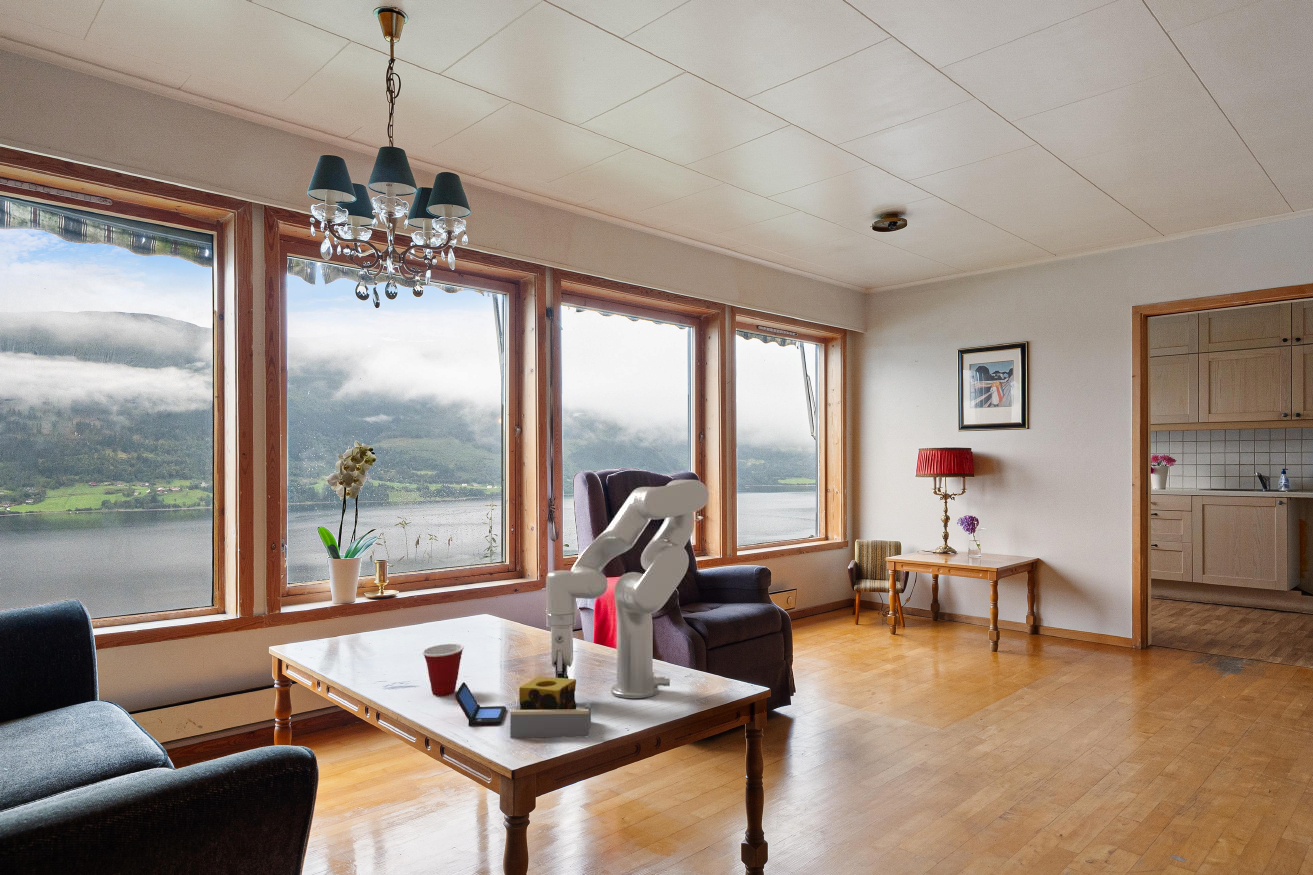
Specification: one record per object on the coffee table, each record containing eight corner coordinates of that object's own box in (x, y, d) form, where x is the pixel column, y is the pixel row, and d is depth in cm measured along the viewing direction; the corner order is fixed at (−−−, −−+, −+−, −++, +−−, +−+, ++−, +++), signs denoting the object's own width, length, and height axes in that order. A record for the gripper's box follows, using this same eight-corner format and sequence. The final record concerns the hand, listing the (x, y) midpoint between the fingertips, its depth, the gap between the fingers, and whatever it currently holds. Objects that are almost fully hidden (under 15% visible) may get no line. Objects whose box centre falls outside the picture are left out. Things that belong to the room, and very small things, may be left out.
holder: (590, 721, 180) (590, 697, 180) (588, 736, 170) (588, 710, 170) (517, 722, 179) (517, 698, 180) (510, 737, 169) (510, 711, 169)
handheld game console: (500, 726, 177) (501, 694, 178) (453, 728, 176) (453, 695, 177) (507, 710, 190) (507, 679, 190) (462, 711, 189) (463, 680, 189)
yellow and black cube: (577, 721, 180) (577, 678, 181) (559, 735, 171) (559, 690, 171) (538, 717, 183) (538, 675, 184) (518, 731, 174) (518, 686, 174)
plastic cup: (414, 692, 204) (415, 647, 205) (452, 685, 211) (453, 641, 212) (431, 701, 196) (432, 654, 196) (470, 694, 203) (471, 648, 203)
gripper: (573, 625, 189) (574, 700, 188) (577, 613, 204) (578, 683, 203) (543, 625, 189) (543, 701, 188) (549, 614, 204) (549, 684, 203)
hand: (561, 691), depth 196 cm, fingers closed
